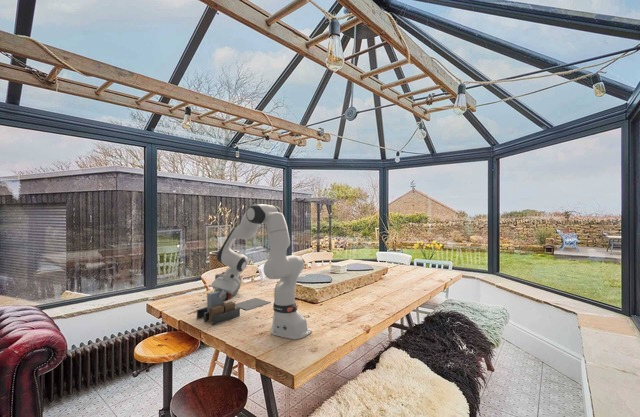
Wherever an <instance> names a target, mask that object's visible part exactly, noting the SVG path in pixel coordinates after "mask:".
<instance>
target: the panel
mask: <svg viewBox="0 0 640 417" xmlns="http://www.w3.org/2000/svg"><path fill="white" fill-rule="evenodd" d="M221 292H222V291H215V292H214V291H211V292H208V293H207V294H206V298H207V299H206V307H207V312H208V311H209V308H210V307H214V306H217V305H221V304H223V302H224V300H223V296H222V297H221V298H219V297H218V295H219V294H220V293H221Z"/></svg>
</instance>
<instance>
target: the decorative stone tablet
mask: <svg viewBox="0 0 640 417" xmlns="http://www.w3.org/2000/svg"><path fill="white" fill-rule="evenodd" d="M225 272H226V271H222V272H221V273H218V274H217V273H216V274H215V275H214V277H215V278H214V281H215V280H216V278H218V277H219V276H221V275H222V276H223V275H224V273H225ZM238 279H239V280H240V281H241V283H240V284H238V287H237V289H236V290H235V291H234V293H232V294H231V293H228V292H226V293H225V294H224V295H223V301H228V300H230V299H231V298H232V297H234V296H236V295H237V294H238V292H239V291H240V289H241V286H242V285H241V284H242V278H241V274H240V275H239V277H238ZM219 291H221V290H219Z"/></svg>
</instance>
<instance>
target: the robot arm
mask: <svg viewBox="0 0 640 417" xmlns="http://www.w3.org/2000/svg"><path fill="white" fill-rule="evenodd" d="M261 224H263V225H266V228H267V234H268V240H269V255H268V257H267V260H266V262H264V265H263V273H264V276H265V277H266V278H267V279H268V280H279V282H278V283H277V284H276V285H275V287H274V291H273V294H274V295H273V298H274V301H273V306H272V309H273V316H272V324H271V328H270V335H273V336H278V337H282V338H286V339H290V340H299V339H303V338H305V337H307V336H309V335H310V334H311V333H312V332H313V330H312V329H313V328H310V327H308V322H307V319H306V318H305V317H304V316H303V315H302V313H301V312H300V311H299V310H298V307H299V304H297V302H296V301H295V300H296V286H297V283H298V282H297V281H298V279H299V276H300V274H301V273H302V271H303V270H304V269H305V268H304V267H305V262H304V260H303V257H302V256H300V255H296V254H295V255H294V254H292V255H287V250H288V248H289V247H290V246H291V239H290V234H289V229H288V228H289V227H288V224H287V221H286V219H285V216H284V214H283V212H282V209H281V207H279V206H277V205H275V204H271V205H270V204H265V203H264V204H263V203H261V204H256V203H255V204H252V205H250V206H248V207H247V209H246V211H245V213H244V214H243V216H242V218H241V221H240V223H239V225H238V226H235V227H233V228H232V229H231V230H230V232H229V234H228V235H227V237H226V239H225V240H224V242H223V244H222V246H221V247H220V249H219V250H218V251H217V253H216V260H217V262H218V263H221V264H223V265H225V266H227V267H228V268H227V269H226V270H225V271H224V272H225V273H224V275H223V276H222V275H221V276H219V277H218V278H216V280H215V279H214V281H213V282H212V283H211V285H210V286H211V287H212V288H213V289H214V290H213V292H215V291H219V290H221V291H222V292H221V293H220V294H219V295H218V297H219V298H221V297H222V296H223V295H224V294H225V293H226V292H228V293H231V294H232V293H234V291H235V290H236V289H237V287H238V284H240V283H241V284H242V280H241V281H240V280H239V279H238V277H239V275H240V276H241V274H242V273H243V272H244V271H245V269H246V267H247V265H248V263H249V257H248V256H247V255H245V254H242V253H238V252H236V251H234V250H232V248H231V247H232V245H233V244H234V241H235V240H236V239H237V240H239V239H240V240H249V239H250V240H251V239H253V238H254V237H255V236H256V235H257V232H258V230H259V228H260V225H261Z"/></svg>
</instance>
